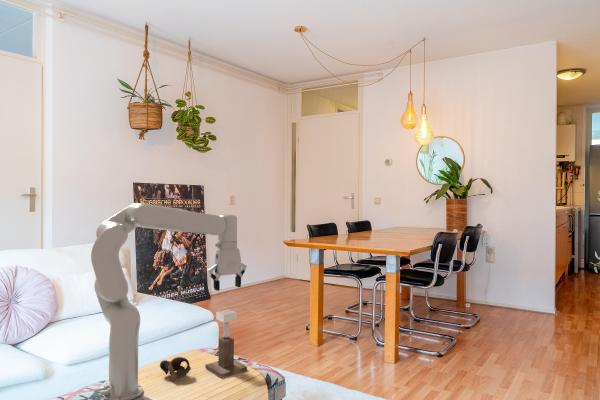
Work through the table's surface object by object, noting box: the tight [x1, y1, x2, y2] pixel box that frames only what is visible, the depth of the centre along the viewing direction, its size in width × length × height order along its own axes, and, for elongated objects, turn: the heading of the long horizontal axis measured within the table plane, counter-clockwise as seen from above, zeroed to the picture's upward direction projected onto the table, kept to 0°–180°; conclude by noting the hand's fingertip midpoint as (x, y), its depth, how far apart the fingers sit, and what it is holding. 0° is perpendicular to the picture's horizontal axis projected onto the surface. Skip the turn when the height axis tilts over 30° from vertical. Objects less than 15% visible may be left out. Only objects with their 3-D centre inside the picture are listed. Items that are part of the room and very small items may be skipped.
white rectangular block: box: [215, 308, 238, 340], centre depth 175 cm, size 6×6×15 cm
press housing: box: [204, 335, 248, 379], centre depth 175 cm, size 12×12×12 cm
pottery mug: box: [159, 356, 192, 382], centre depth 168 cm, size 12×9×8 cm
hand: (227, 288), depth 175 cm, fingers open, 9 cm apart
